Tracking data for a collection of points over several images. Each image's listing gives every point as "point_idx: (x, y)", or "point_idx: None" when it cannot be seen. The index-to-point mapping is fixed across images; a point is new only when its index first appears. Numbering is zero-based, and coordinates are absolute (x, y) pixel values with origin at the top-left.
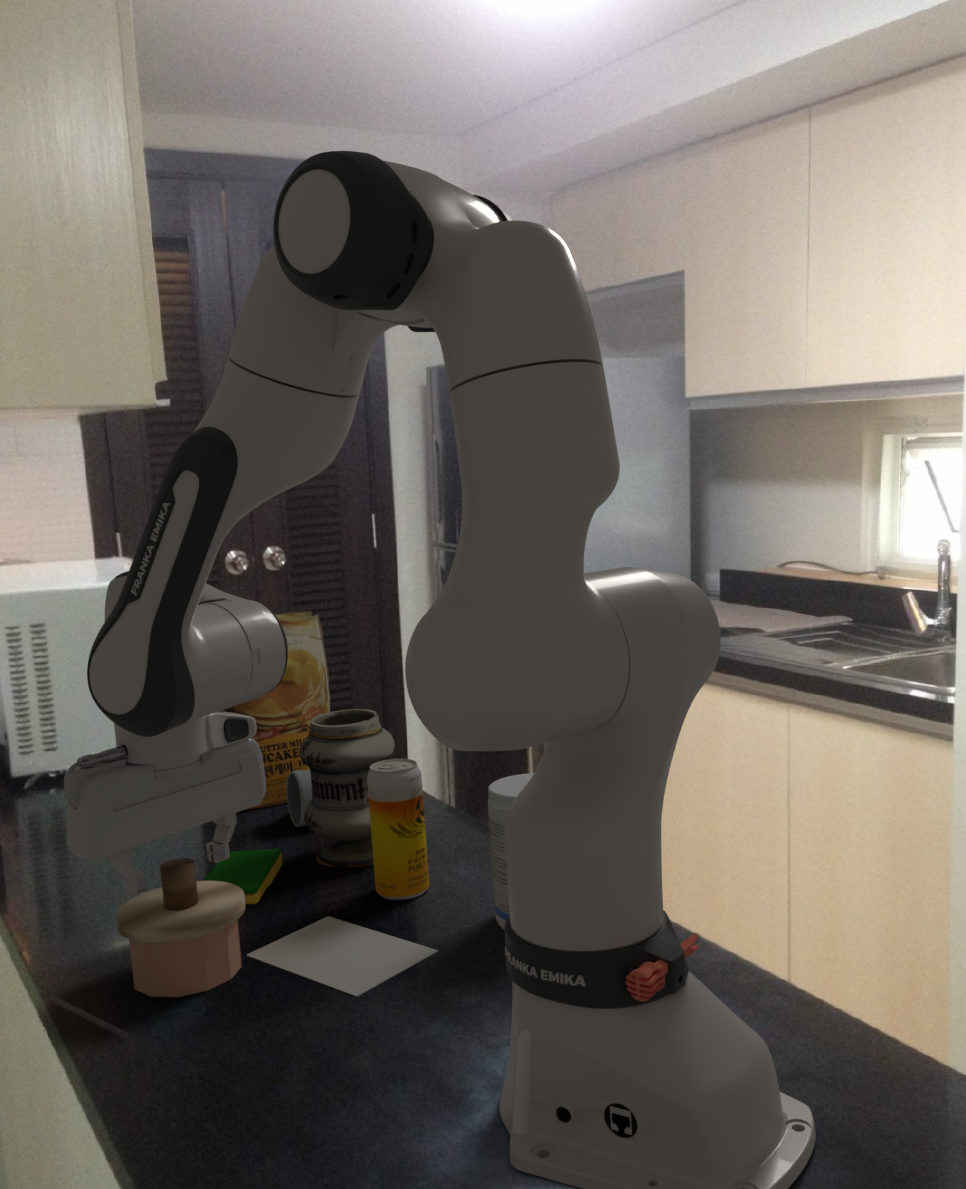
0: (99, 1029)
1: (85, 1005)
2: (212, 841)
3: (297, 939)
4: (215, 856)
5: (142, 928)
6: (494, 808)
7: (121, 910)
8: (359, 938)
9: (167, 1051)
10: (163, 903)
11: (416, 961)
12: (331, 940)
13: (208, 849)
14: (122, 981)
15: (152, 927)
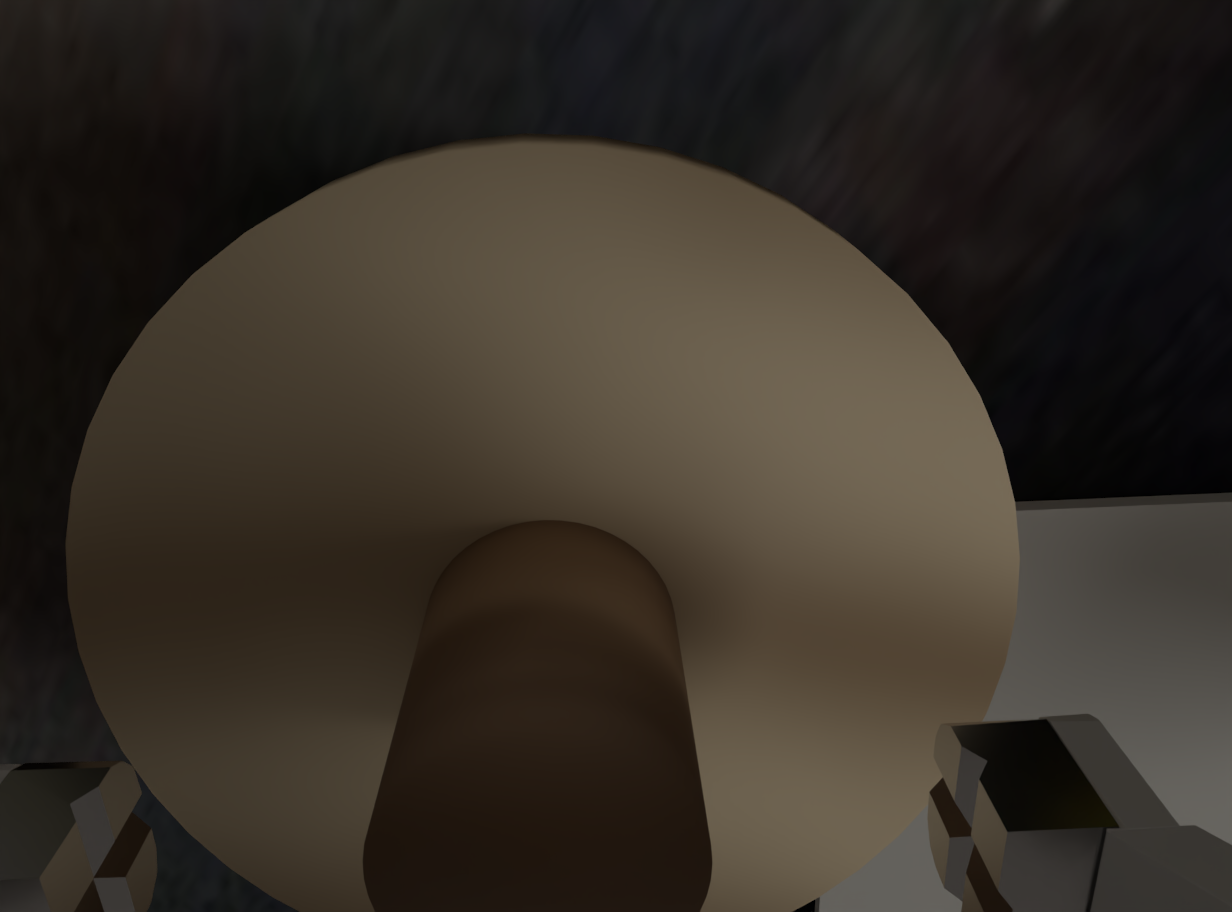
0: (28, 547)
1: (49, 280)
2: (1093, 839)
3: (1090, 583)
4: (948, 867)
5: (151, 769)
6: None
7: (167, 358)
8: (1213, 783)
9: (175, 870)
10: (473, 516)
11: None
12: (1146, 710)
13: (977, 823)
14: (301, 190)
15: (208, 803)
